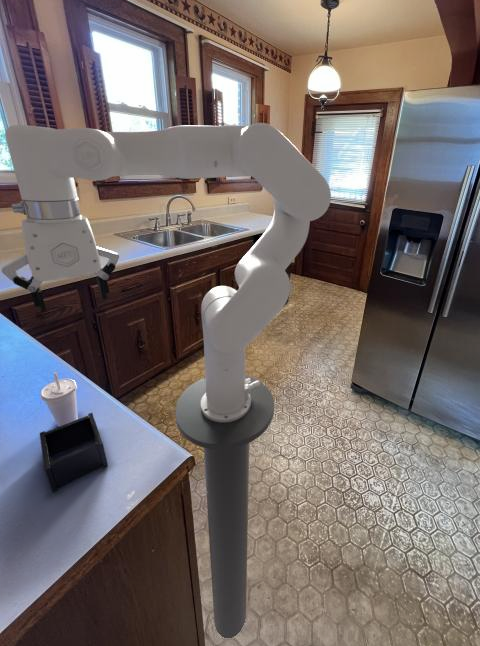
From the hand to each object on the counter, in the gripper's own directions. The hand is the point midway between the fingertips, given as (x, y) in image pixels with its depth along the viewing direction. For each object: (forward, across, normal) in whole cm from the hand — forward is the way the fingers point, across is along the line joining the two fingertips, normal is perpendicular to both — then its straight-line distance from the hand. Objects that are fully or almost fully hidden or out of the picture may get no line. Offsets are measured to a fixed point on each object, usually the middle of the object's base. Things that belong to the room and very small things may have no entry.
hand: (74, 303), depth 58 cm
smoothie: (+31, -6, +5) cm, 31 cm away
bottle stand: (+30, -6, -7) cm, 32 cm away
